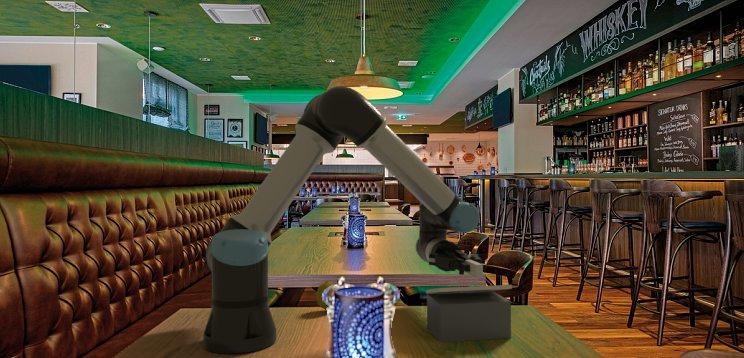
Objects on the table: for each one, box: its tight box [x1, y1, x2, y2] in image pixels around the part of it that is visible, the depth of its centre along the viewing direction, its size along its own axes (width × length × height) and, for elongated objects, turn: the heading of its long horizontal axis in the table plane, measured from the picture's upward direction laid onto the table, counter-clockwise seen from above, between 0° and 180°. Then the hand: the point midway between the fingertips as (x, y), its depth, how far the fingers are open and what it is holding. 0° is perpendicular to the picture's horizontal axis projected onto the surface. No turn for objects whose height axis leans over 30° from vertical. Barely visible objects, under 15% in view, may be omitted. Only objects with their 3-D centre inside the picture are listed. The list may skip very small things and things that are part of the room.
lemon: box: [316, 280, 335, 311], centre depth 132 cm, size 6×6×8 cm
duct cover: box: [425, 284, 513, 295], centre depth 113 cm, size 16×10×1 cm, turn 100°
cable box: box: [426, 291, 512, 343], centre depth 113 cm, size 16×10×8 cm, turn 100°
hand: (479, 271), depth 107 cm, fingers closed
